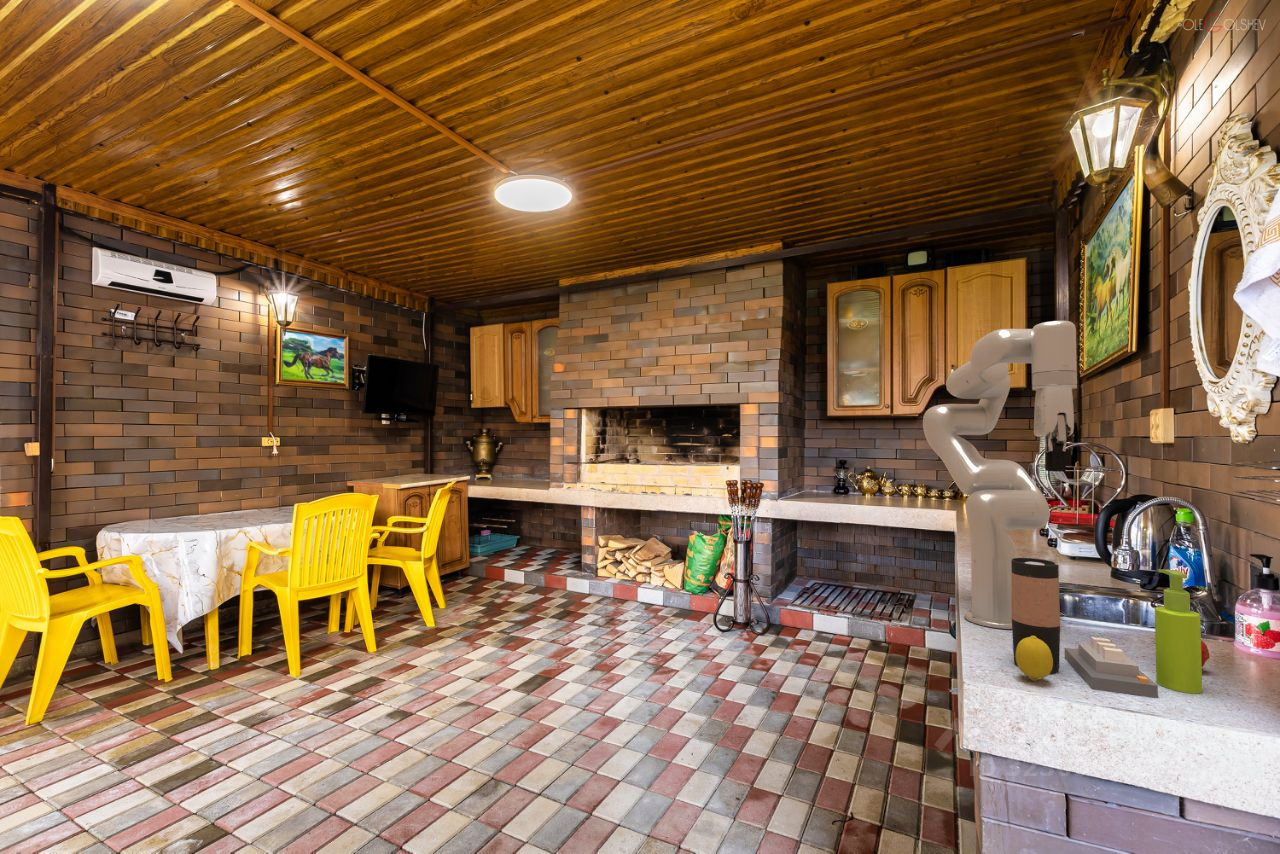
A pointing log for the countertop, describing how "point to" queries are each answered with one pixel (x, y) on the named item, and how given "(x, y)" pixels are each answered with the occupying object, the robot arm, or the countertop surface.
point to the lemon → (1034, 658)
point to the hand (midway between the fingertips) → (1055, 471)
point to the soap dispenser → (1178, 639)
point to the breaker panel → (1110, 679)
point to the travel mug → (1036, 604)
